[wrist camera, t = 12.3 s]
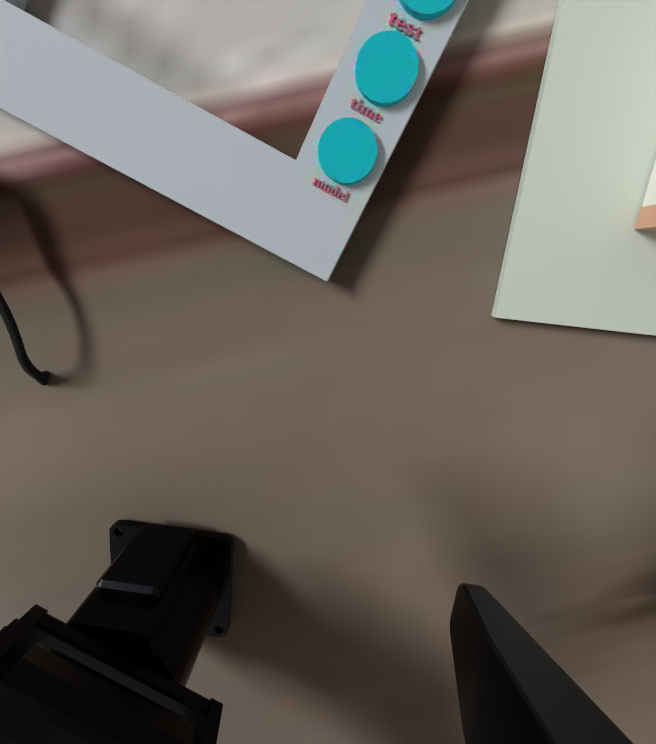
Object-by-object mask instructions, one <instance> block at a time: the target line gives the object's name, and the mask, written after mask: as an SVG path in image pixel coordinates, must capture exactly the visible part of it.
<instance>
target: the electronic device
mask: <svg viewBox="0 0 656 744" xmlns="http://www.w3.org/2000/svg"><path fill="white" fill-rule="evenodd" d="M468 2H469V0H367V1H366V3H365V5H364V8H363V10H362V12H361V14H360V17H359V19H358V21H357V23H356V26H355V28H354V30H353V32H352V35H351V37H350V39H349V42H348V44H347V46H346V48H345V51H344V53H343V55H342V57H341V60H340V62H339V64H338V66H337V69H336V71H335V73H334V75H333V78H332V80H331V82H330V85H329V87H328V89H327V91H326V94H325V96H324V98H323V100H322V103H321V105H320V107H319V109H318V112H317V114H316V116H315V119H314V121H313V123H312V125H311V128H310V130H309V132H308V134H307V137H306V139H305V141H304V143H303V146H302V148H301V150H300V153H299V155H298V157H297V159H296V160H294V159H292V158H291V157H289V156H287V155H285V154H283V153H281V152H280V151H278V150H276V149H274V148H272V147H271V146H269V145H267V144H265V143H263V142H261V141H260V140H258V139H256V138H254V137H252V136H250V135H249V134H247V133H245V132H243V131H241V130H240V129H238V128H236V127H234V126H232V125H230V124H229V123H227V122H225V121H223V120H221V119H220V118H218V117H216V116H214V115H212V114H210V113H209V112H207V111H205V110H203V109H201V108H200V107H198V106H196V105H194V104H192V103H190V102H189V101H187V100H185V99H183V98H181V97H179V96H178V95H176V94H174V93H172V92H170V91H169V90H167V89H165V88H163V87H161V86H159V85H158V84H156V83H154V82H152V81H150V80H149V79H147V78H145V77H143V76H141V75H139V74H138V73H136V72H134V71H132V70H130V69H128V68H127V67H125V66H123V65H121V64H119V63H118V62H116V61H114V60H112V59H110V58H108V57H107V56H105V55H103V54H101V53H99V52H98V51H96V50H94V49H92V48H90V47H88V46H87V45H85V44H83V43H81V42H79V41H78V40H76V39H74V38H72V37H70V36H68V35H67V34H65V33H63V32H61V31H59V30H57V29H56V28H54V27H52V26H50V25H48V24H47V23H45V22H43V21H41V20H39V19H37V18H36V17H34V16H32V15H30V14H28V13H27V12H25V8H26V4H27V0H0V108H1V109H3V110H5V111H7V112H9V113H10V114H12V115H14V116H16V117H18V118H20V119H22V120H24V121H25V122H27V123H29V124H31V125H33V126H35V127H37V128H39V129H41V130H42V131H44V132H46V133H48V134H50V135H52V136H54V137H56V138H57V139H59V140H61V141H63V142H65V143H67V144H69V145H71V146H73V147H74V148H76V149H78V150H80V151H82V152H84V153H86V154H88V155H89V156H91V157H93V158H95V159H97V160H99V161H101V162H103V163H105V164H106V165H108V166H110V167H112V168H114V169H116V170H118V171H120V172H121V173H123V174H125V175H127V176H129V177H131V178H133V179H135V180H137V181H138V182H140V183H142V184H144V185H146V186H148V187H150V188H152V189H153V190H155V191H157V192H159V193H161V194H163V195H165V196H167V197H169V198H170V199H172V200H174V201H176V202H178V203H180V204H182V205H184V206H185V207H187V208H189V209H191V210H193V211H195V212H197V213H199V214H201V215H202V216H204V217H206V218H208V219H210V220H212V221H214V222H216V223H217V224H219V225H221V226H223V227H225V228H227V229H229V230H231V231H233V232H234V233H236V234H238V235H240V236H242V237H244V238H246V239H248V240H249V241H251V242H253V243H255V244H257V245H259V246H261V247H263V248H265V249H266V250H268V251H270V252H272V253H274V254H276V255H278V256H280V257H281V258H283V259H285V260H287V261H289V262H291V263H293V264H295V265H297V266H298V267H300V268H302V269H304V270H306V271H308V272H310V273H312V274H313V275H315V276H317V277H319V278H321V279H323V280H325V281H328V280H329V279H330V277H331V275H332V273H333V271H334V269H335V267H336V265H337V263H338V261H339V259H340V257H341V255H342V253H343V251H344V249H345V247H346V245H347V243H348V241H349V239H350V237H351V235H352V233H353V231H354V229H355V227H356V225H357V223H358V221H359V219H360V217H361V215H362V213H363V211H364V209H365V207H366V205H367V203H368V201H369V199H370V197H371V195H372V193H373V191H374V189H375V187H376V185H377V183H378V181H379V179H380V177H381V175H382V173H383V171H384V169H385V167H386V165H387V163H388V161H389V159H390V157H391V155H392V153H393V151H394V149H395V147H396V145H397V143H398V141H399V139H400V137H401V135H402V133H403V131H404V129H405V127H406V125H407V124H408V122H409V120H410V118H411V116H412V114H413V112H414V110H415V108H416V106H417V104H418V102H419V100H420V98H421V96H422V94H423V92H424V90H425V88H426V86H427V84H428V82H429V80H430V78H431V76H432V74H433V72H434V70H435V68H436V66H437V64H438V62H439V60H440V58H441V56H442V54H443V52H444V50H445V48H446V46H447V44H448V42H449V40H450V38H451V36H452V34H453V32H454V30H455V28H456V26H457V24H458V22H459V20H460V18H461V16H462V14H463V12H464V10H465V8H466V6H467V4H468Z"/></svg>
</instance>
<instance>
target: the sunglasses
mask: <svg viewBox="0 0 656 744" xmlns="http://www.w3.org/2000/svg"><path fill="white" fill-rule="evenodd" d="M0 314H1V316H2V318H3V321H4V323H5V325H6V328H7V330H8V332H9V335H10V338H11V340H12V343H13V346H14V349H15V352H16V355H17V358H18V361H19V363H20V365H21V367H22V368H23V370H24V371H25V372H26V373H27V374H29V375H30V376H31V377H32V378H34V379H35V380H36V381H37V382H38V383H40V384H41V385H46V384H47V381H48V375H49V372H48V371H43V372H41V371H39V370H38V369H36V368H35V366H34V365H33V364H32V363H31V361H30V360H29V358H28V356H27V354H26V351H25V348H24V345H23V342H22V338H21V336H20V333H19V330H18V327H17V324H16V322H15V320H14V318H13V315H12V313H11V311H10V309H9V307H8V305H7V303H6V301H5V299H4V298H3V296H2V294H1V292H0Z"/></svg>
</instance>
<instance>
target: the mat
mask: <svg viewBox="0 0 656 744" xmlns="http://www.w3.org/2000/svg"><path fill="white" fill-rule="evenodd" d="M655 160H656V0H559V1H558V6H557V11H556V15H555V20H554V25H553V29H552V34H551V39H550V43H549V48H548V53H547V57H546V62H545V67H544V72H543V76H542V81H541V86H540V90H539V95H538V100H537V104H536V109H535V114H534V118H533V123H532V128H531V132H530V137H529V142H528V146H527V151H526V156H525V160H524V165H523V170H522V174H521V179H520V184H519V188H518V193H517V198H516V202H515V207H514V212H513V216H512V221H511V226H510V230H509V235H508V240H507V245H506V249H505V254H504V259H503V263H502V268H501V273H500V277H499V282H498V287H497V291H496V296H495V301H494V305H493V310H492V315H491V316H493V317H495V318H504V319H512V320H521V321H530V322H539V323H548V324H557V325H566V326H575V327H584V328H593V329H602V330H611V331H620V332H628V333H637V334H646V335H655V336H656V231H649V230H639V229H635V225H636V222H637V219H638V215H639V212H640V208H641V207H642V204H643V201H644V198H645V194H646V191H647V187H648V184H649V180H650V177H651V174H652V170H653V167H654V163H655Z"/></svg>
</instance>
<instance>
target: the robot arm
mask: <svg viewBox="0 0 656 744" xmlns="http://www.w3.org/2000/svg"><path fill="white" fill-rule="evenodd" d="M119 529H121V530H122V531H123V532H122V531H120V530H119ZM109 532H110V552H111V565H110V566H109V567H108V569H107V570H106V571H105V572H104V574H103V575H102V576H101V577H100V578H99V580H98V581H97V583H96V587H95V588H94V589H93V590H92V592H91V593H90V594H89V595H88V597H87V598H86V599H85V600H84V602H83V603H82V604H81V605H80V607H79V608H78V609H77V610H76V612H75V613H74V614H73V615H72V617H71V618H70V619H69V621H68V622H67V623H64V622H63V621H61V620H59V619H57V618H55V617H53V616H51V615H49V614H48V613H47V612H48V610H46V609H44V608H42V607H40V606H39V605H37V604H36V605H34V606H33V607H32V608H31V609H30V610H29V611H28V612H27V613H26V614H25V615H24V616H22V617H21V618H20V619H17V618H16V619H14V620H13V621H12V622H11V623H10V624H9V625H8V626H4V627H3V628H2V629H1V630H0V744H216V742H217V736H218V730H219V725H220V719H221V713H222V707H223V704H222V703H220V702H218V701H216V700H214V699H213V698H211V699H210V700H209V699H207V698H205V697H203V696H201V695H199V694H197V693H196V692H194V691H192V690H190V689H188V688H186V687H185V686H186V684H187V681H188V679H189V676H190V674H191V671H192V669H193V666H194V664H195V661H196V659H197V656H198V654H199V651H200V649H201V646H202V644H203V641H204V639H205V636H206V635H209V636H215V637H223V636H225V635H226V634H227V632H228V629H229V626H230V609H231V588H232V567H233V546H234V542H233V539H232V537H231V536H229V535H227V534H223V533H216V532H208V531H201V530H194V529H186V528H179V527H171V526H164V525H157V524H149V523H142V522H135V521H127V520H118V521H116V522H115V523H114V524H113V525H112V527H111V528H110V531H109ZM220 543H224V544H225V545H226V546H223V545H221V544H220ZM219 626H220V627H219ZM450 636H451V644H452V652H453V659H454V667H455V675H456V682H457V690H458V698H459V706H460V713H461V720H462V727H463V733H464V738H465V743H466V744H633V743H632V742H631V741H630V740H629V739H628V738H627V737H626V736H625V734H624V733H623V732H622V731H621V730H620V729H619V728H618V727H617V726H616V725H615V724H614V723H613V722H612V721H611V720H610V719H609V718H608V717H607V716H606V715H605V714H604V712H603V711H602V710H601V709H600V708H599V707H598V706H597V705H596V704H595V703H594V702H593V701H592V700H591V699H590V698H589V697H588V696H587V695H586V694H585V693H584V691H583V690H582V689H581V688H580V687H579V686H578V685H577V684H576V683H575V682H574V681H573V680H572V679H571V678H570V677H569V676H568V675H567V674H566V673H565V672H564V670H563V669H562V668H561V667H560V666H559V665H558V664H557V663H556V662H555V661H554V660H553V659H552V658H551V657H550V656H549V655H548V654H547V653H546V652H545V651H544V649H543V648H542V647H541V646H540V645H539V644H538V643H537V642H536V641H535V640H534V639H533V638H532V637H531V636H530V635H529V634H528V633H527V632H526V631H525V630H524V628H523V627H522V626H521V625H520V624H519V623H518V622H517V621H516V620H515V619H514V618H513V617H512V616H511V615H510V614H509V613H508V612H507V611H506V610H505V609H504V607H503V606H502V605H501V604H500V603H499V602H498V601H497V600H496V599H495V598H494V597H493V596H492V595H491V594H490V593H489V592H488V591H487V590H486V589H485V588H484V587H482V586H480V585H473V584H466V583H462V584H460V585H459V587H458V588H457V592H456V596H455V601H454V605H453V609H452V613H451V618H450Z"/></svg>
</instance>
